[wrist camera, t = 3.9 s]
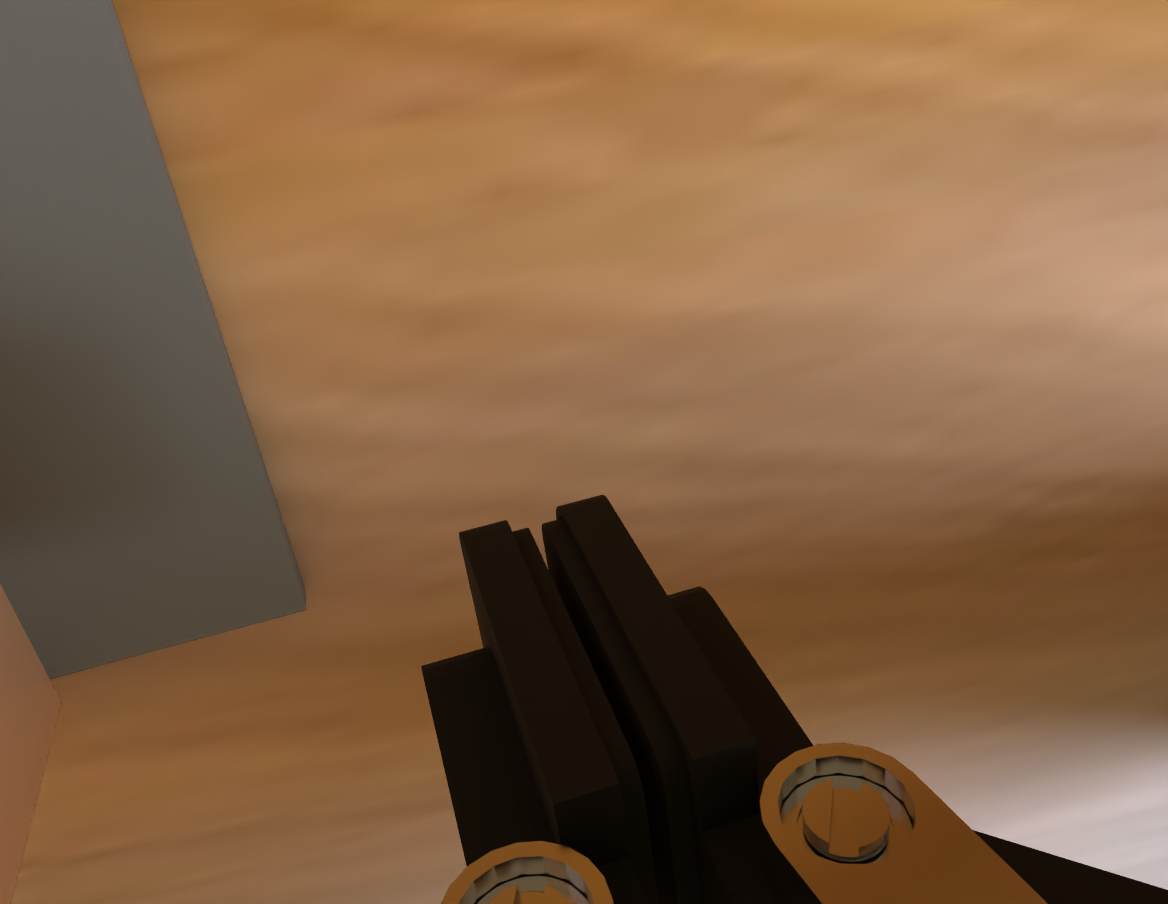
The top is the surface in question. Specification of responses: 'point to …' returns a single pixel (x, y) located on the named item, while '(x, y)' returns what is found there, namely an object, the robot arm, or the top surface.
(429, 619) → the top surface
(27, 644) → the tile terracotta
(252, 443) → the mat
